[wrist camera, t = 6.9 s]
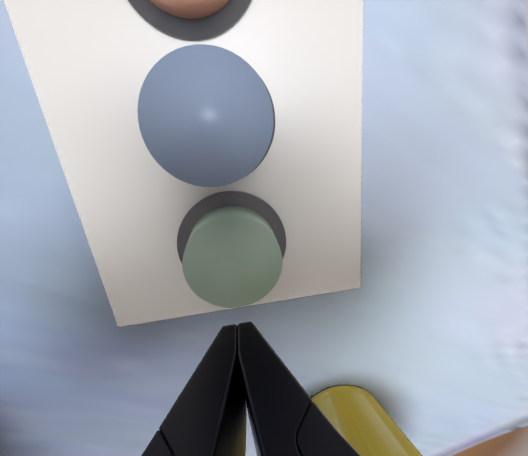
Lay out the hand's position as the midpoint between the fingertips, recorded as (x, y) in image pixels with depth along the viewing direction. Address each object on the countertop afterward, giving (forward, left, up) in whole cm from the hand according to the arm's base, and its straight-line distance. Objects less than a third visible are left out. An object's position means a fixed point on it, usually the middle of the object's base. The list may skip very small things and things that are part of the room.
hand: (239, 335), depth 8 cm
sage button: (0, 0, -7) cm, 7 cm away
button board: (+6, 0, -9) cm, 11 cm away
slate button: (+6, 0, -5) cm, 8 cm away
